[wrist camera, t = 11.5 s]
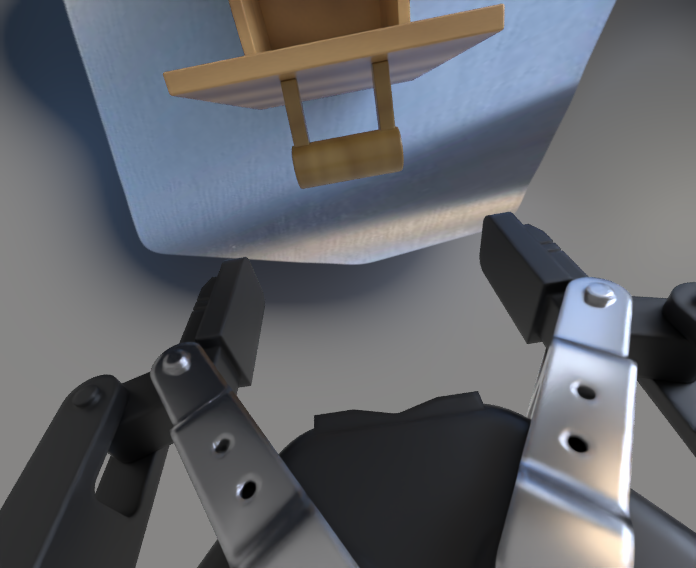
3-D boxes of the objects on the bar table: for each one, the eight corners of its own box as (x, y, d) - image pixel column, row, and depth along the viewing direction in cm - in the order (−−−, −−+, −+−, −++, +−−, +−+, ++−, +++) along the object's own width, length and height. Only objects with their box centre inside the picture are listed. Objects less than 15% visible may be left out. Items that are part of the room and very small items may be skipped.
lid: (160, 72, 13) (210, 213, 15) (505, 2, 12) (501, 160, 14) (256, 99, 28) (274, 167, 30) (412, 68, 27) (418, 141, 29)
